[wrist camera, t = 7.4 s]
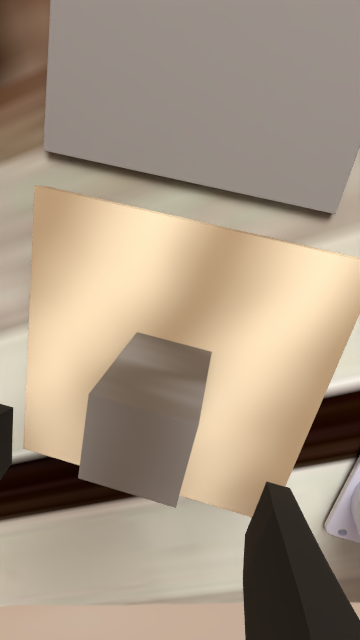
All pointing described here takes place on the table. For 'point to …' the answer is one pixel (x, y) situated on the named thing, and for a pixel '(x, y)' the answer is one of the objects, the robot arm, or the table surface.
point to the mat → (210, 92)
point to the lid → (177, 349)
